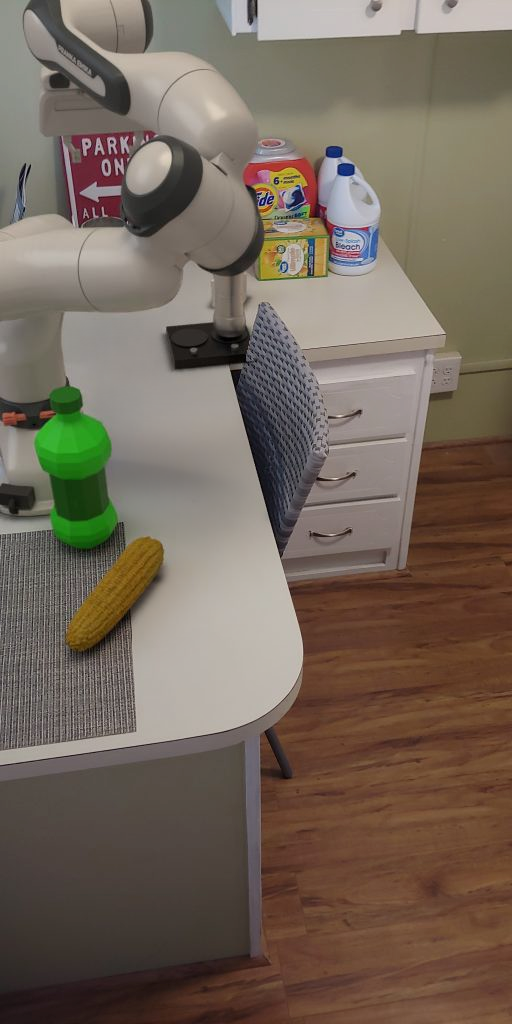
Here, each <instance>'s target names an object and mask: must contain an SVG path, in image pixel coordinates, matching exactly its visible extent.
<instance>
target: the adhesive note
mask: <svg viewBox="0 0 512 1024" xmlns="http://www.w3.org/2000/svg"><path fill="white" fill-rule="evenodd" d="M247 274H248V273H247V271H245V274H244V281H243V304H244V303H245V302H246V301H247V299H248V287H247V286H248V285H247V284H248V279H247V278H248V277H247ZM210 284H211V285H210V287H211V292H210V293H211V307H212V308H215V283H214V277H213V278H211V280H210Z"/></svg>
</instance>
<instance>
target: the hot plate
mask: <svg viewBox="0 0 512 1024" xmlns="http://www.w3.org/2000/svg"><path fill="white" fill-rule="evenodd" d="M165 332H166V339H167V343H168V347H169V351H170V355H171V360H172V363H173V366H174V370H183V369H194V368H203V367H213V366H215V367H216V366H224V365H234V364H235V365H236V364H244V363H247V362H246V354H247V350H248V346H249V341H250V337H251V338H252V336H251V334H250V331H249V328H248V326H247V325H246V326H245V330H244V331H243V333H242V334H241V335H239V336H237V337H223V336H220V335H219V334H217V332H216V331H215V329H214V326H213V321H211V322H200V323H188V324H178V325H177V324H176V325H167V326H165Z"/></svg>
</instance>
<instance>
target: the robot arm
mask: <svg viewBox="0 0 512 1024" xmlns="http://www.w3.org/2000/svg"><path fill="white" fill-rule="evenodd" d="M154 29H155V28H154V15H153V10H152V5H151V3H150V1H149V0H29V1H28V2H27V5H26V6H25V8H24V10H23V13H22V30H23V34H24V35H23V36H24V39H25V42H26V44H27V47H28V49H29V51H30V53H31V55H32V57H34V58H35V59H36V61H38V62H39V63H40V64H41V65H42V67H41V69H40V72H39V79H40V83H41V86H40V88H39V90H38V94H37V121H38V122H37V123H38V130H39V133H40V134H41V135H42V136H43V137H45V138H53V137H62V141H63V142H62V143H63V145H64V146H65V147H66V148H67V150H68V151H69V153H70V154H71V159H72V160H71V161H72V163H73V164H76V163H82V155H81V148H75V147H74V145H73V143H72V142H73V141H72V139H73V138H72V136H83V135H99V134H103V135H104V134H117V133H132V132H133V134H134V137H135V140H134V142H133V145H131V144H130V145H128V156H129V159H128V161H127V163H126V164H125V167H124V171H123V176H122V180H121V187H120V199H121V201H120V203H119V207H118V208H119V216H120V220H121V222H122V224H123V226H113V227H112V226H105V227H104V226H102V227H101V226H100V227H76V226H75V225H73V223H72V222H71V221H69V220H68V219H67V218H65V217H64V216H62V215H60V214H57V213H47V214H39V215H34V216H33V215H32V216H28V217H25V218H22V219H20V220H18V221H16V222H14V223H11V224H9V225H7V226H5V227H2V228H0V512H1V513H2V514H6V515H9V516H18V517H33V516H45V515H50V514H51V510H52V508H53V506H54V499H53V494H52V488H51V482H50V477H49V473H47V472H45V471H43V470H42V467H41V465H40V463H39V460H38V457H37V454H36V451H35V445H34V441H35V437H36V434H37V433H38V432H39V431H40V430H41V428H42V427H43V426H44V425H45V424H46V423H47V422H48V421H49V420H50V419H51V418H52V417H54V416H55V415H56V413H55V412H53V411H52V408H51V404H50V398H49V394H50V393H51V392H52V391H53V390H55V389H57V388H60V387H72V386H71V383H70V380H69V378H68V376H67V375H66V368H65V367H66V366H65V360H64V359H65V358H64V352H63V324H64V318H65V313H69V312H72V313H99V314H100V313H102V314H103V313H104V314H126V313H127V314H128V313H129V314H130V313H137V312H143V311H145V312H146V311H150V310H154V309H158V308H162V307H164V306H166V305H167V304H169V303H171V302H172V301H173V300H174V299H175V297H176V296H177V295H178V293H179V292H180V290H181V287H182V284H183V280H184V268H185V266H186V264H188V262H190V261H191V262H193V263H195V264H196V265H197V266H198V267H199V268H200V269H202V270H203V271H205V272H207V273H210V274H212V275H213V274H215V275H219V276H225V277H231V276H236V275H238V274H241V273H243V272H244V271H245V272H247V270H248V269H250V268H251V267H252V266H253V265H254V264H255V262H257V260H258V258H259V257H260V255H261V254H262V250H263V248H264V244H265V236H266V235H265V226H264V222H263V218H262V215H261V211H260V209H259V202H258V201H259V200H258V194H257V190H256V189H255V187H253V186H251V185H249V184H246V183H245V181H244V172H245V170H246V168H247V167H248V165H249V164H251V161H252V160H253V158H254V157H255V155H256V153H257V150H258V145H259V129H258V126H257V123H256V120H255V118H254V117H253V115H252V113H251V111H250V110H249V108H248V106H247V104H246V103H245V101H244V100H243V98H242V97H241V96H240V94H239V93H238V92H237V90H236V89H235V88H234V87H233V85H232V84H231V83H230V82H229V81H228V80H227V79H226V78H225V77H224V76H223V75H222V74H221V73H220V72H219V71H218V70H217V69H216V68H215V67H214V66H213V65H212V64H210V63H209V62H207V61H206V60H205V59H202V58H200V57H198V56H196V55H194V54H191V53H189V52H184V51H157V52H146V51H147V50H148V49H149V47H150V45H151V42H152V40H153V38H154V31H155V30H154ZM149 131H151V132H152V133H154V134H155V135H157V136H153V137H152V138H150V139H149V140H147V141H145V142H144V143H142V142H143V140H144V138H145V135H144V132H149ZM127 222H128V223H127ZM80 413H83V414H85V413H84V409H83V408H81V409H80Z"/></svg>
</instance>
